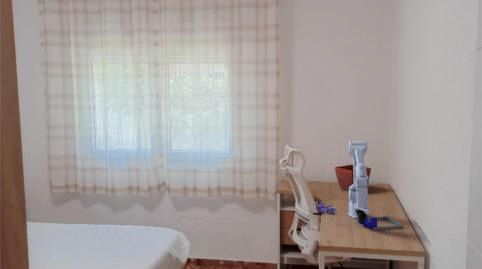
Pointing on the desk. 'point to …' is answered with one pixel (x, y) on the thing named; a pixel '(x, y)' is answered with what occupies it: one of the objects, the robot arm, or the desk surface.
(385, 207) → the desk surface
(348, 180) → the plant pot
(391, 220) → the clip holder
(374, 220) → the cable clip
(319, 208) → the toy race car
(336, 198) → the desk surface
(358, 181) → the robot arm
